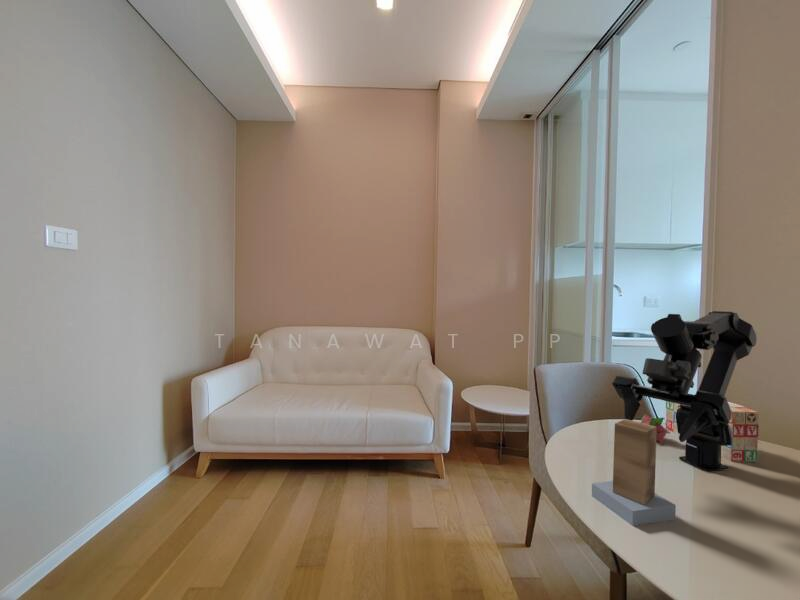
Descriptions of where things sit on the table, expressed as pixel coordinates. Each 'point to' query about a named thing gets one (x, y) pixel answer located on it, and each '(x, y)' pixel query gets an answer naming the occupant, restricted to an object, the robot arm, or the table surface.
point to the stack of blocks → (741, 428)
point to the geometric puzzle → (657, 423)
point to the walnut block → (634, 460)
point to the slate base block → (633, 505)
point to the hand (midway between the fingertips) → (651, 432)
